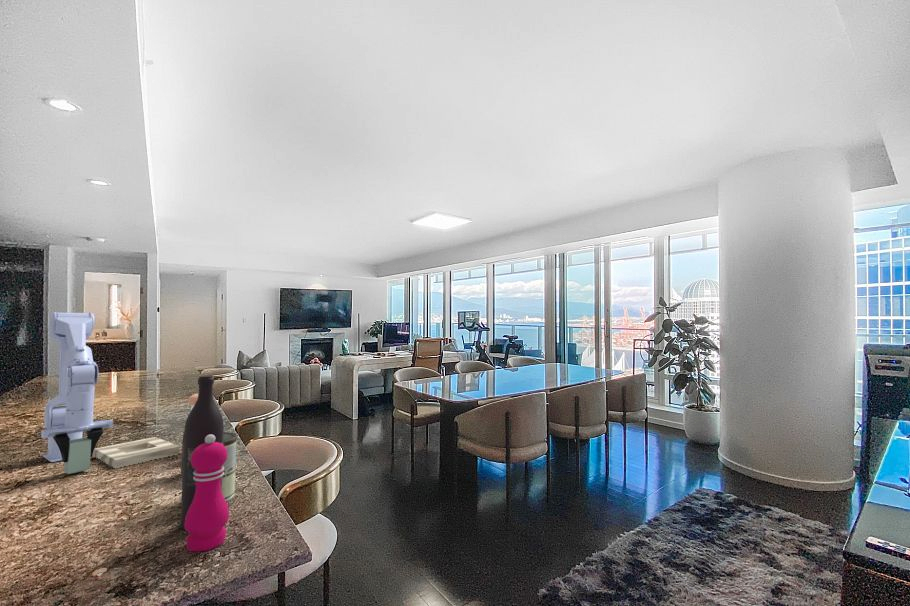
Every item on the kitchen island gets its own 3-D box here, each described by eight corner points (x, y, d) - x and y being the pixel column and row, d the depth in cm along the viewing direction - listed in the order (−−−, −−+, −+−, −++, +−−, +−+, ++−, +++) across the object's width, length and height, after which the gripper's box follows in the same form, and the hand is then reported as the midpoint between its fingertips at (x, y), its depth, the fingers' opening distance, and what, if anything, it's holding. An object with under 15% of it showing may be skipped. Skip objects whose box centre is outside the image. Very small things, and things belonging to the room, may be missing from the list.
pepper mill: (196, 533, 80) (200, 429, 81) (235, 532, 81) (238, 429, 82) (174, 554, 73) (179, 440, 74) (217, 552, 74) (221, 439, 75)
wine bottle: (178, 534, 80) (184, 379, 81) (182, 519, 86) (188, 375, 88) (219, 526, 83) (224, 377, 85) (221, 512, 89) (226, 373, 91)
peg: (63, 470, 112) (65, 440, 112) (84, 466, 116) (86, 437, 116) (68, 474, 110) (70, 443, 110) (89, 469, 113) (91, 439, 114)
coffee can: (179, 511, 90) (182, 445, 91) (189, 493, 99) (191, 434, 100) (233, 503, 94) (235, 440, 95) (237, 487, 103) (239, 430, 104)
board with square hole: (94, 456, 126) (94, 448, 126) (155, 444, 139) (155, 436, 139) (115, 469, 115) (115, 459, 116) (178, 454, 129) (179, 446, 129)
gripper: (47, 415, 105) (44, 469, 104) (117, 406, 117) (115, 454, 116) (40, 411, 109) (37, 464, 108) (109, 403, 121) (106, 450, 120)
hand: (77, 459), depth 113 cm, fingers closed on peg, 4 cm apart
